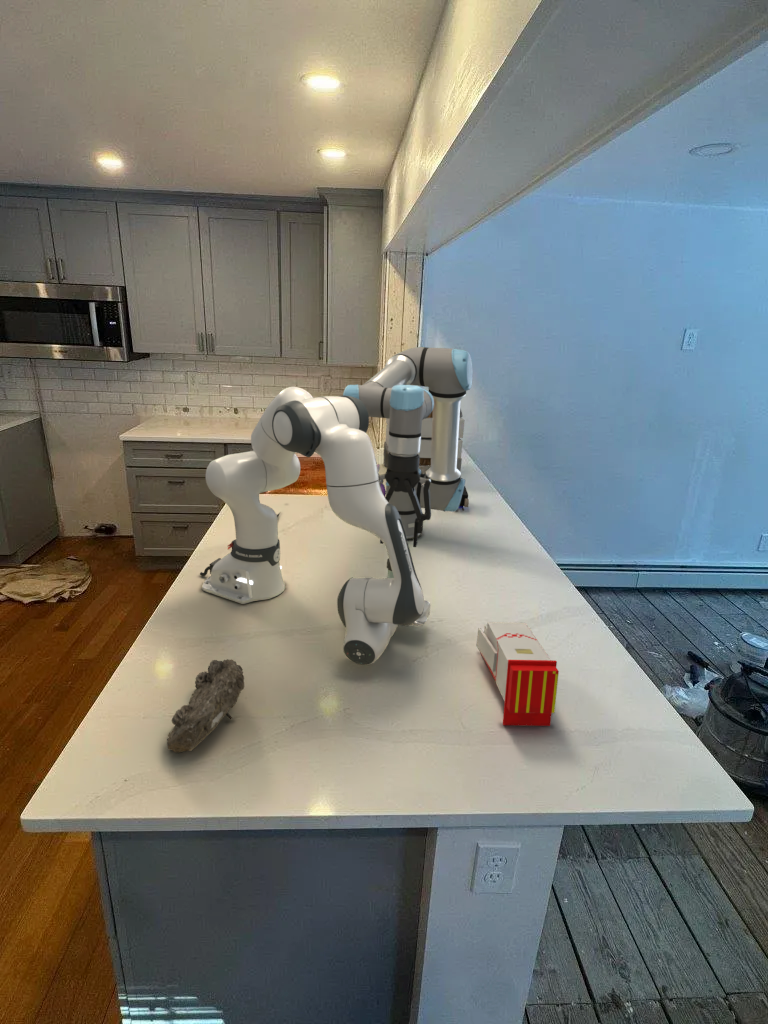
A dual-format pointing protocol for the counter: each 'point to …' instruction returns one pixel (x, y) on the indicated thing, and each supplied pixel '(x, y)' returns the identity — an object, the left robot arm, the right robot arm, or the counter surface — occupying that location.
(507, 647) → the toy
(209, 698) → the fossil
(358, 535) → the counter surface
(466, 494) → the figurine character
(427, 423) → the grey slatted crate
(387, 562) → the lid
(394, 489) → the right robot arm
